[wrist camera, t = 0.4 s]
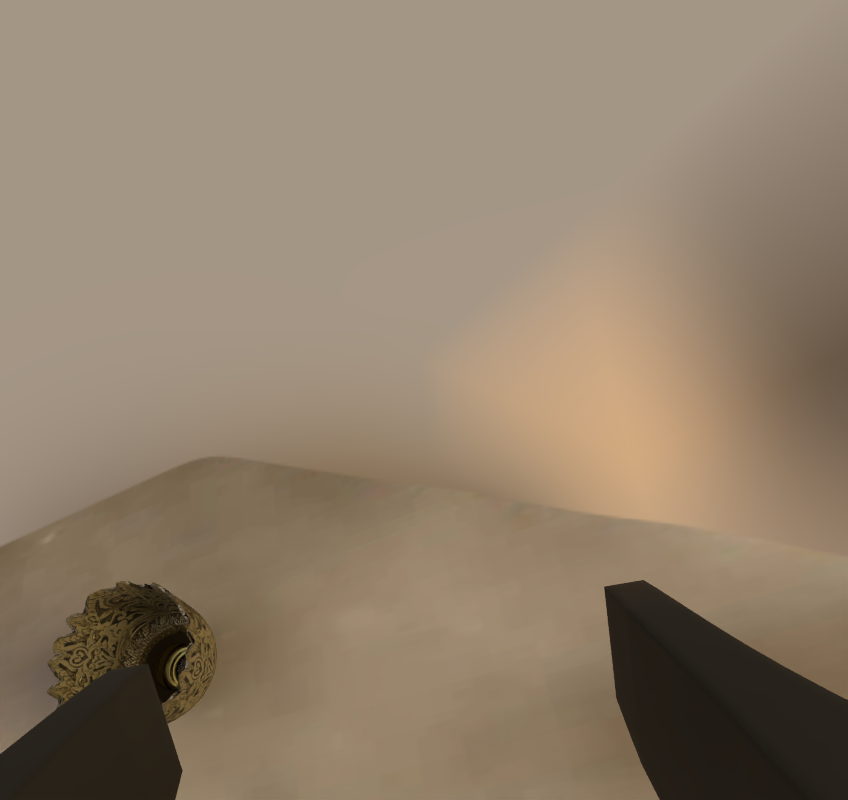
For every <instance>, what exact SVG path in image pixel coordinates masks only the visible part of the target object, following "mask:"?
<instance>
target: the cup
mask: <svg viewBox="0 0 848 800" xmlns="http://www.w3.org/2000/svg"><path fill="white" fill-rule="evenodd" d="M66 622H67V625H68V626H69V628H71V627H72V628H73V629H72V628H71V630H72V633H68V634H65V635H63V636H60V637H59V638H58V639H57V640H56V641H55V642H54V645H53V653H55V655H56V656H53V657H54V658H52V659H51V660H49V662H48V666H49V668H50V669H51V671H52V672H53V673H54V677H55V678H56V679H59V682H57V683H56V684H54V685H52V687H51V688H49V689H48V691H47V693H48V694H49V695H50V696H52V697H54V698H56V699H58V702H59V704H58V707H57V708H56V709H58V708H59V707H60V706H61V705H63V704H64V703H65V702H66V701H68V700H69V699H70V698H72V697H73V696H74V695H76V694H77V693H78V692H79V691H81V690H82V689H83V688H85V687H86V686H87V685H89V684H90V683H92V682H93V681H94V680H96V679H97V678H99V677H100V676H102V675H103V674H105V673H106V672H108V671H109V670H113V669H119V668H125V667H131V666H137V665H143V664H148V665H149V668H150V671H151V674H152V678H153V681H154V684H155V687H156V690H157V693H158V696H159V699H160V703H161V706H162V709H163V712H164V715H165V718H166V721H167V723H170V722H172V721H174V720H176V719H177V718H179V717H181V716H182V715H184V714H185V713H186V712H188V711H189V710H190V709H191V708H192V707H193V706H195V704H196V703H197V702H198V701H199V700H200V699H201V697H202V696H203V695H204V693H205V691H206V690H207V688H208V686H209V684H210V682H211V680H212V677H213V674H214V671H215V666H216V644H215V640H214V636H213V633H212V631H211V629H210V627H209V626H208V624H207V623H206V621H205V620H204V619H203V618H202V616H201V615H200V614H199V613H198V612H196V611H195V610H194V609H193V608H192V607H190V606H189V605H188V604H186V603H185V602H183V601H182V600H180V599H179V598H177V597H176V596H174V595H173V594H171V593H170V592H169V591H167V590H166V589H165V588H163V587H162V586H160V585H158V584H156V583H152V584H151V585H147V584H143V585H136V584H133V583H131V582H129V581H122V582H118V583H116V588H106V589H102V590H99V591H97V592H95V593H93V594H90V595H89V596H88V598H87V600H86V603H85V609H84V611H83V613H81V614H79V613H78V614H74V615H71V616H70V617H68V618H67V619H66ZM73 630H74V632H73ZM184 656H186V664H185V668H184V671H182V672H181V673H180V675H179V677H177V674H176V669H177V665H178V663H179V661H180V660H181V659H182V658H183V657H184Z"/></svg>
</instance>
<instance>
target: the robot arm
mask: <svg viewBox="0 0 848 800" xmlns="http://www.w3.org/2000/svg"><path fill="white" fill-rule="evenodd" d="M604 589H605V598H606V607H607V616H608V625H609V634H610V643H611V653H612V662H613V671H614V680H615V689H616V698H617V701H618V704H619V706H620V709H621V712H622V714H623V717H624V720H625V722H626V725H627V728H628V730H629V733H630V736H631V738H632V741H633V743H634V746H635V748H636V751H637V753H638V756H639V758H640V761H641V764H642V766H643V768H644V770H645V771H646V773H647V775H648V777H649V779H650V781H651V783H652V785H653V787H654V789H655V791H656V793H657V795H658V797H659V799H660V800H848V700H846V699H844V698H842V697H840V696H838V695H836V694H834V693H832V692H830V691H829V690H827V689H825V688H823V687H821V686H819V685H817V684H816V683H814V682H812V681H810V680H808V679H806V678H804V677H802V676H801V675H799V674H797V673H795V672H793V671H791V670H789V669H788V668H786V667H784V666H782V665H780V664H779V663H777V662H775V661H773V660H772V659H770V658H768V657H766V656H765V655H763V654H761V653H759V652H758V651H756V650H754V649H753V648H751V647H749V646H748V645H746V644H744V643H743V642H741V641H739V640H738V639H736V638H734V637H733V636H731V635H729V634H728V633H726V632H724V631H723V630H721V629H720V628H718V627H716V626H715V625H713V624H712V623H710V622H708V621H707V620H705V619H704V618H702V617H701V616H699V615H698V614H696V613H694V612H693V611H691V610H690V609H688V608H687V607H685V606H683V605H682V604H680V603H679V602H677V601H676V600H674V599H673V598H671V597H670V596H668V595H666V594H665V593H663V592H662V591H660V590H659V589H657V588H656V587H654V586H652V585H651V584H649V583H647V582H646V581H644V580H641V581H635V582H629V583H623V584H617V585H611V586H605V587H604ZM181 774H182V768H181V765H180V762H179V759H178V755H177V752H176V749H175V746H174V743H173V740H172V737H171V734H170V731H169V727H168V724H167V721H166V718H165V715H164V712H163V709H162V706H161V703H160V699H159V696H158V693H157V690H156V687H155V684H154V681H153V678H152V674H151V671H150V668H149V665H148V664H143V665H137V666H131V667H125V668H119V669H113V670H109V671H108V672H106V673H105V674H103V675H102V676H100V677H99V678H97V679H96V680H94V681H93V682H92V683H90V684H89V685H87V686H86V687H85V688H83V689H82V690H81V691H79V692H78V693H77V694H76V695H74V696H73V697H72V698H70V699H69V700H68V701H66V702H65V703H64V704H63V705H61V706H60V707H59V708H58V709H56V710H55V711H54V712H53V713H51V714H50V715H49V716H47V717H46V718H45V719H44V720H42V721H41V722H40V723H39V724H37V725H36V726H35V727H34V728H32V729H31V730H30V731H29V732H27V733H26V734H25V735H24V736H22V737H21V738H20V739H19V740H17V741H16V742H15V743H14V744H12V745H11V746H10V747H9V748H7V749H6V750H5V751H4V752H2V753H1V754H0V800H175V798H176V794H177V790H178V786H179V782H180V778H181Z"/></svg>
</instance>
